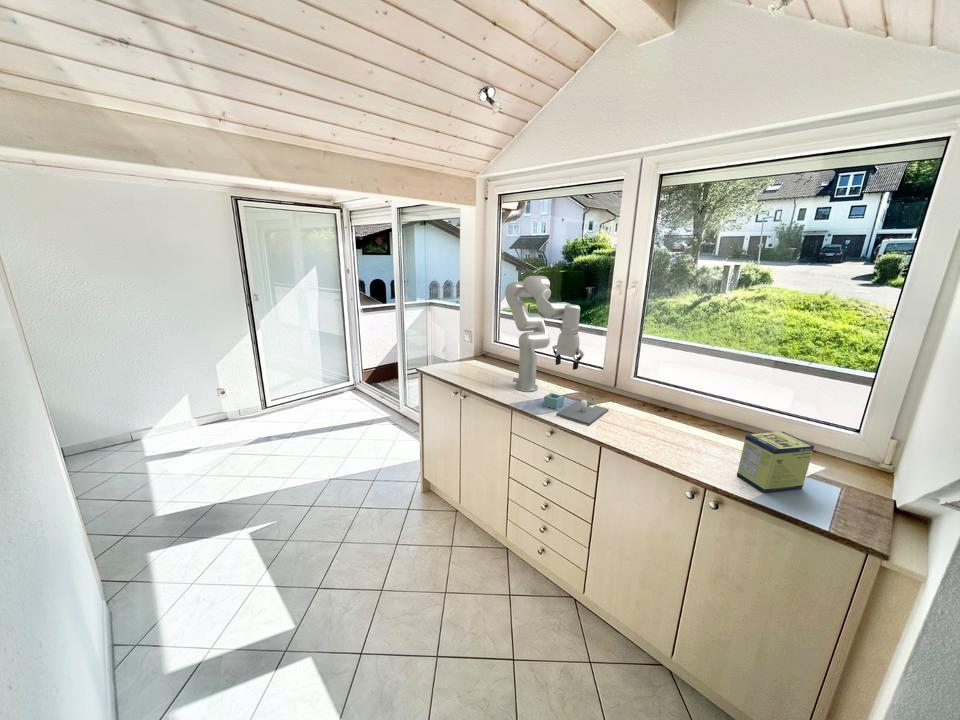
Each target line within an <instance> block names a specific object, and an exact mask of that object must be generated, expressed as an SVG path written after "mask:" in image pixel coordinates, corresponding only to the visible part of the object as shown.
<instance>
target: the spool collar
mask: <svg viewBox="0 0 960 720" xmlns="http://www.w3.org/2000/svg"><path fill="white" fill-rule="evenodd" d="M564 397H565V395H561V394H558V393H554V392H550V393H548V394H546V395H544V396H543V407H546V408H549V407H550V409H553V408H554V410H558V409H560V408H562V407H563V406H564V402H565V401H564ZM561 406H562V407H561ZM559 407H560V408H559Z"/></svg>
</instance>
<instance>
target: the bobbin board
mask: <svg viewBox="0 0 960 720" xmlns="http://www.w3.org/2000/svg"><path fill="white" fill-rule="evenodd" d="M590 405H591V403H588V401H587V400H585V399H582V400H575V402H573V403H571V404H569V405H568V406H566V407H564V408H562V409H561V410H560V411H558V412H556V415H557V417H559V416H560V418H562V417H563V419H566V420H569V421H573V422H576V423H578V424H582V425H585V426H590V425H592V424H594V422H596V421H597V420H598V419H600V418H602V417H603V416H604V415H605V414H607V413H608V412H609V408H606V407H602V406H600V405H594V406H593V407H591V406H590ZM556 415H555V416H556Z"/></svg>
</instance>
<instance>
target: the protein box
mask: <svg viewBox="0 0 960 720" xmlns="http://www.w3.org/2000/svg"><path fill="white" fill-rule="evenodd" d="M814 447H815V445H813V444H812V443H808V442H807V441H804V439H803V440H802V439H800V438H798V437H796V436H793V434H792V435H791V434H789V433H787V432H785V431H774V432H761V433H749V434H745V438H744V443H743V446H742V452H741V456H740V459H739V460H740V461H739V464H738V468H737V473H736V476H737V478H740V479H741V480H743V481H744V482H745V483H747V484H749V485H750V486H751V487H753V488H755V489H757V490H758V491H760V492H761V493H763V494H769V493H771V494H772V493H777V492H785V491H786V492H787V491H788V492H789V491H795V490H796V491H797V490H802V489H803V487H804V484H805V480H806V476H807V474H808V473H807V472H808V470H809V465H810V462H811V459H812V456H813V452H814Z"/></svg>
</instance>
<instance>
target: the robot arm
mask: <svg viewBox="0 0 960 720" xmlns="http://www.w3.org/2000/svg"><path fill="white" fill-rule="evenodd" d="M550 288H551V282H550V280H549V277H547V276H545V275H528V276H527V277H525V278H524V279H523V281H511V282H510V283H508V284H507V285H506V287H505V289H504V296H505V300H506V302H507V305H508V307H509V309H510V310H511V314H512V316H513V317H512V318H513V321H514V323H515V326H516V328H517V330H518V331H519V332H524V333H521V334H520V335H519V337H518V351H519V363H518V364H519V365H518V377H513V380H512V382H513V383H516V384H515V385H514V387H515V389H516V390H517V391H520V392H531V393H532V392H535V391H537V390H538V389H539V387H538V385H537V384H536V380H537V377H536V376H537V366H538V365H537V363H538V357H537V353H536V351H535V350H539V349H541V350H542V349H545V348H547V347H548V346H549V344H550V335H549V332H548V329H547V326H546V323H545V319H549V320H555V319H562V321H561V322H562V323H561V327H559V331H561V332H560V333H559V335H558V339H557V343H556V345H553V346H552V347H551V348H552V352H553V354H554V356H555V365H556V366H558V365H561V361H562V356H565V357H569V358H572V359H573V362H572V370H573V371H575V370H577V369H578V368H579V362H580V361H581V360H582V359H583V358H584V357H585V355H586V354H585V352H584V351H582V349H580V336H579V325H580V317H581V307H580V305H577V304H571V303H569V302H566V301H562V302H559V301H558V302H550V301H548V300H549V299H550V298H551V295H552V291H551V289H550ZM521 298H534V300H535V305H536V309H537V311H538V312H539V313H540V314H539V313H530V312H529V310H528V308H527V305H526V304H525V302H524V301H523V300H522V299H521ZM543 316H544V317H545V319H544V318H543Z"/></svg>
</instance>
